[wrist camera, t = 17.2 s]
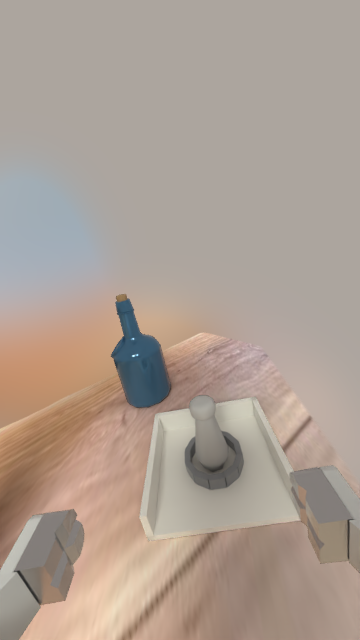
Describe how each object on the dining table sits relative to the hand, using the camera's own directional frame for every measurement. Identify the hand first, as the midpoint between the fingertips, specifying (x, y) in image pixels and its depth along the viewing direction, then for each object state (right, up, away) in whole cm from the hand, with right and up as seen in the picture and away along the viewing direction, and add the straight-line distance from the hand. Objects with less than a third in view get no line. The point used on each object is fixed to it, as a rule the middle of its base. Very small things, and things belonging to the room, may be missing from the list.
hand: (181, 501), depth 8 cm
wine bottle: (-9, -15, +57) cm, 60 cm away
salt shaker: (+6, -19, +32) cm, 37 cm away
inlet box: (+6, -19, +32) cm, 38 cm away
